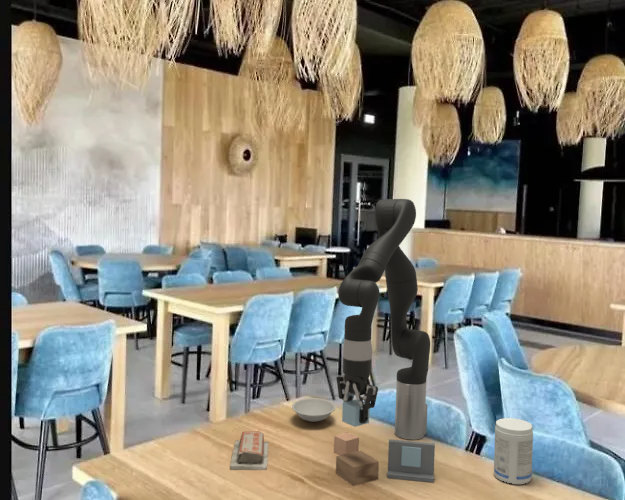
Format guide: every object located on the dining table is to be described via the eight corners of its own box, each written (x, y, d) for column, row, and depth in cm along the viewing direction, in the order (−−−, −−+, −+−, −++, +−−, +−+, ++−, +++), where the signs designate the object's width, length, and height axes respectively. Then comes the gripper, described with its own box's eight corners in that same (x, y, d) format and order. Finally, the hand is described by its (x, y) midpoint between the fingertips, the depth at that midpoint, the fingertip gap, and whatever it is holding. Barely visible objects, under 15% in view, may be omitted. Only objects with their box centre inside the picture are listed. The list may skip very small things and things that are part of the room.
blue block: (356, 417, 162) (356, 399, 161) (369, 422, 158) (369, 404, 157) (342, 421, 159) (342, 402, 158) (355, 427, 155) (355, 407, 154)
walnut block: (360, 468, 164) (361, 450, 164) (378, 480, 157) (378, 461, 157) (335, 474, 160) (336, 456, 160) (352, 486, 153) (353, 467, 153)
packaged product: (235, 429, 179) (268, 429, 179) (234, 445, 179) (268, 445, 179) (230, 453, 161) (267, 454, 161) (229, 471, 161) (267, 471, 161)
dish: (334, 431, 190) (334, 416, 190) (288, 429, 191) (289, 414, 191) (336, 413, 208) (336, 399, 208) (294, 411, 209) (294, 397, 209)
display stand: (388, 468, 164) (389, 436, 164) (433, 472, 162) (434, 440, 161) (387, 478, 158) (388, 444, 158) (433, 482, 156) (435, 448, 156)
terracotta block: (346, 448, 177) (347, 432, 177) (358, 454, 174) (358, 437, 173) (333, 452, 174) (334, 435, 174) (345, 458, 170) (346, 441, 170)
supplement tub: (529, 472, 164) (531, 419, 163) (533, 488, 155) (536, 432, 154) (491, 468, 166) (494, 415, 165) (494, 483, 157) (496, 428, 156)
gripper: (387, 359, 154) (385, 424, 155) (349, 348, 165) (348, 409, 166) (365, 364, 149) (364, 431, 150) (328, 352, 160) (327, 414, 162)
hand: (355, 419), depth 158 cm, fingers closed on blue block, 5 cm apart
